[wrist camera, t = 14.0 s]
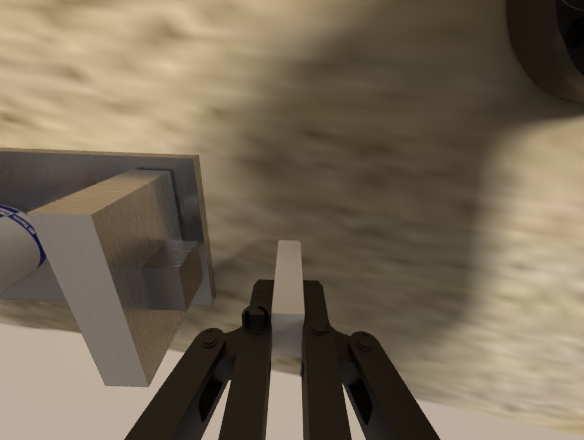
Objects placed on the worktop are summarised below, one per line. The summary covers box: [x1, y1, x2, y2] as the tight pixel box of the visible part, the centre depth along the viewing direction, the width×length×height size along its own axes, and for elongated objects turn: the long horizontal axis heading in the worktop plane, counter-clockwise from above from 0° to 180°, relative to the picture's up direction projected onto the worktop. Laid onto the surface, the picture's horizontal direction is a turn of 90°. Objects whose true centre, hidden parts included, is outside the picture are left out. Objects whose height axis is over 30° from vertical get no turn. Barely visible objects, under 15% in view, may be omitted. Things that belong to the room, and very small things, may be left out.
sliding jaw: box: [27, 169, 203, 387], centre depth 15 cm, size 11×5×7 cm, turn 178°
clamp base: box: [0, 148, 216, 306], centre depth 16 cm, size 13×21×8 cm, turn 88°
